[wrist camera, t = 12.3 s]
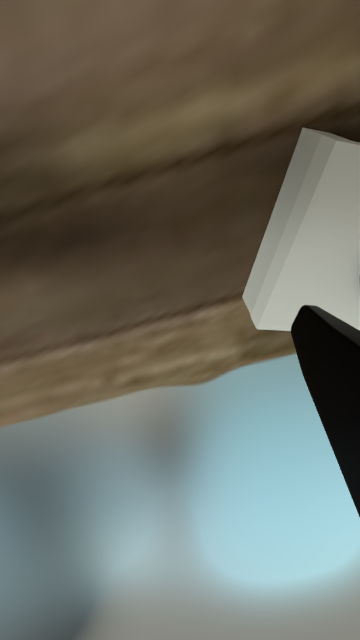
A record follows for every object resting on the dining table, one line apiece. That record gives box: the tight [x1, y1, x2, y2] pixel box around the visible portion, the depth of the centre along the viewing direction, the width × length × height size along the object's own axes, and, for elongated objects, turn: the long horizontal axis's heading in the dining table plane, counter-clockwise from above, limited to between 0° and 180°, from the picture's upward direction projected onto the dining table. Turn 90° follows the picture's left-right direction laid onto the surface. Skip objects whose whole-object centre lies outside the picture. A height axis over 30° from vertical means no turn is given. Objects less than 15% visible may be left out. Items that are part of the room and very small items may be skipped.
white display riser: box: [242, 128, 360, 331], centre depth 22 cm, size 12×12×4 cm
